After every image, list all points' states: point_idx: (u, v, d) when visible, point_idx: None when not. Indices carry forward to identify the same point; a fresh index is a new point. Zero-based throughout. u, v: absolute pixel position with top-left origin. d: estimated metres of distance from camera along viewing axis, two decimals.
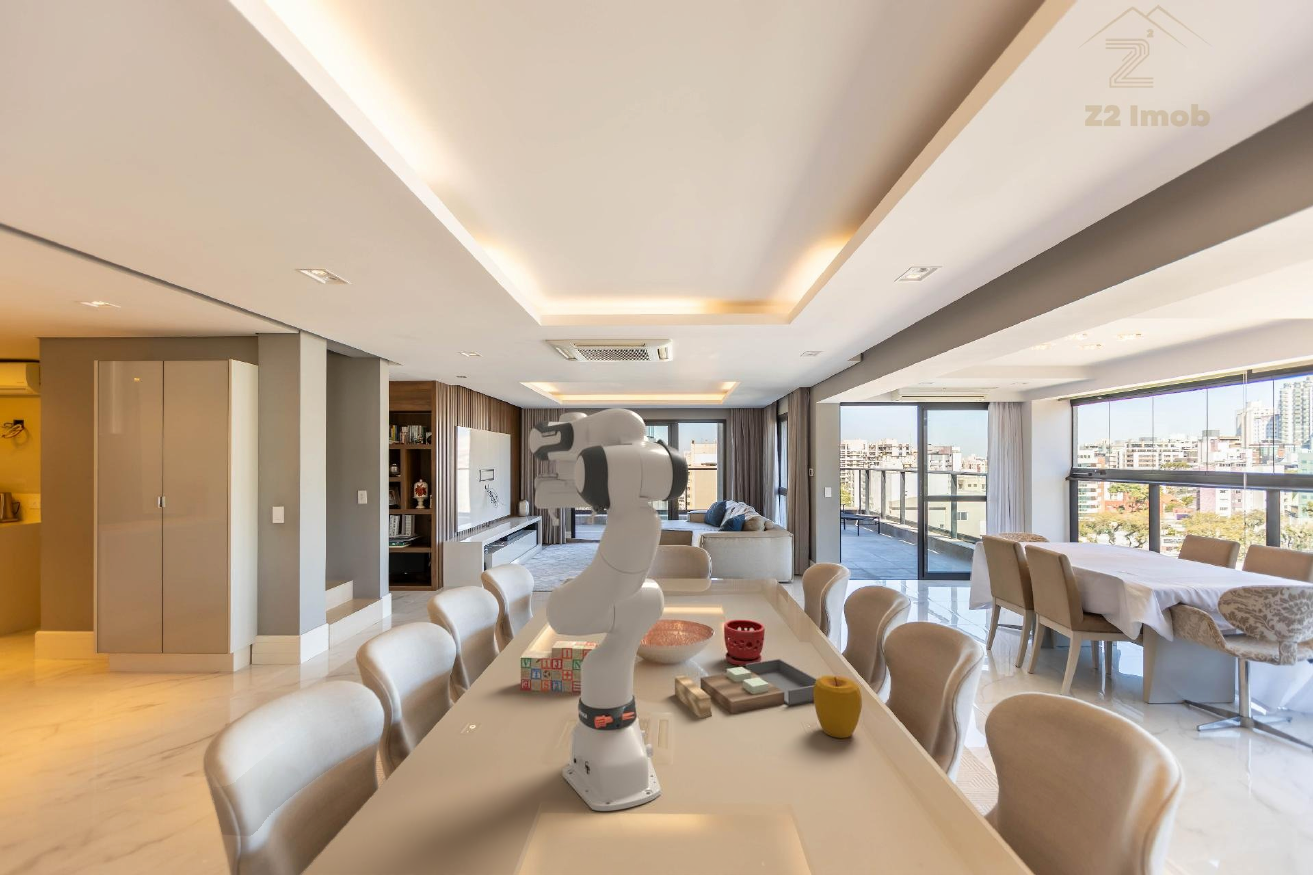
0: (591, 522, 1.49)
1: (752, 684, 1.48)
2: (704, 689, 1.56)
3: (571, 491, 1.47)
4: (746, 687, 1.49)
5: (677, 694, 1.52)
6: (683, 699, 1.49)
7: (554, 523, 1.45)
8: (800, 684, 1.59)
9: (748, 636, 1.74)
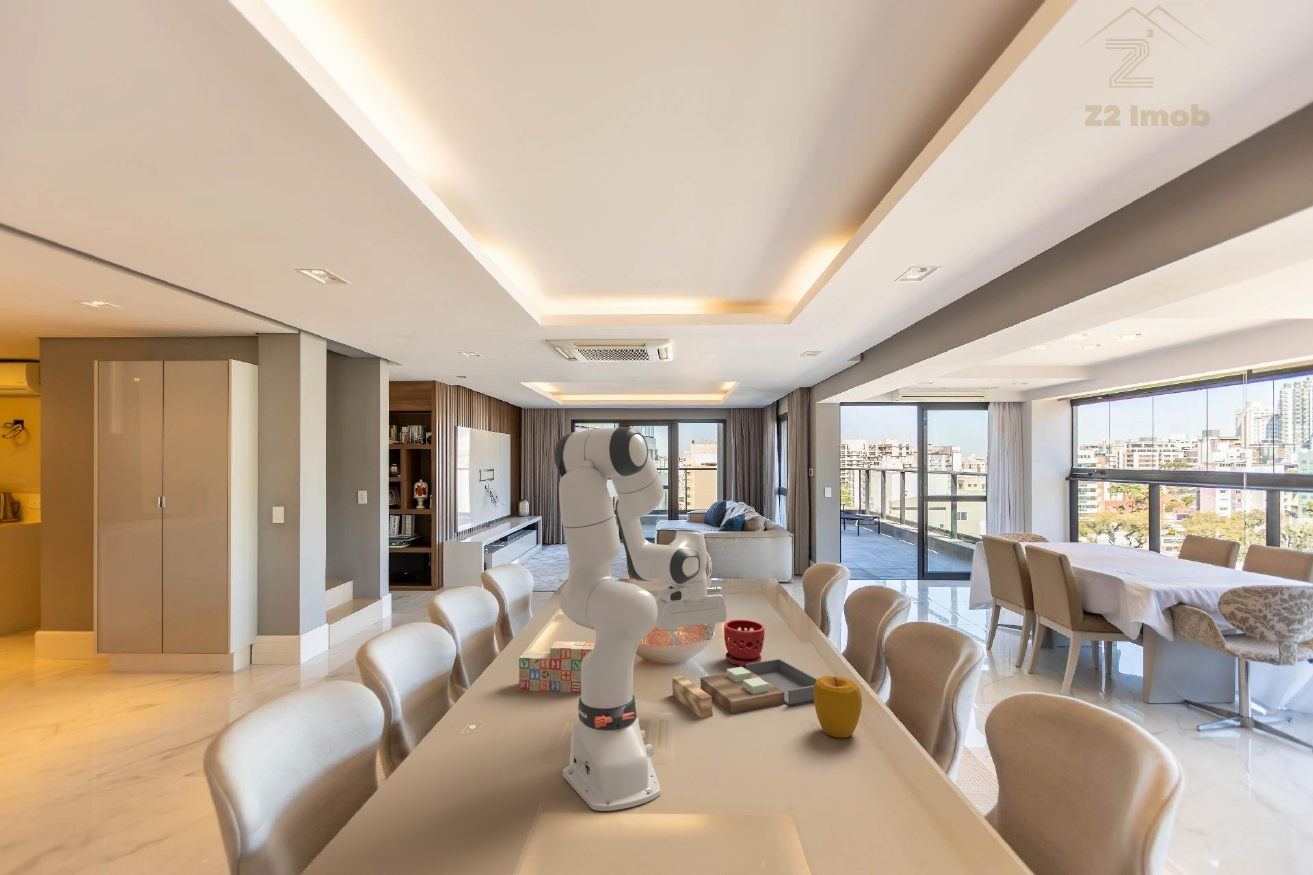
0: None
1: (752, 684, 1.48)
2: (704, 689, 1.56)
3: None
4: (746, 687, 1.49)
5: (675, 695, 1.52)
6: (682, 699, 1.49)
7: None
8: (800, 684, 1.59)
9: (748, 636, 1.74)
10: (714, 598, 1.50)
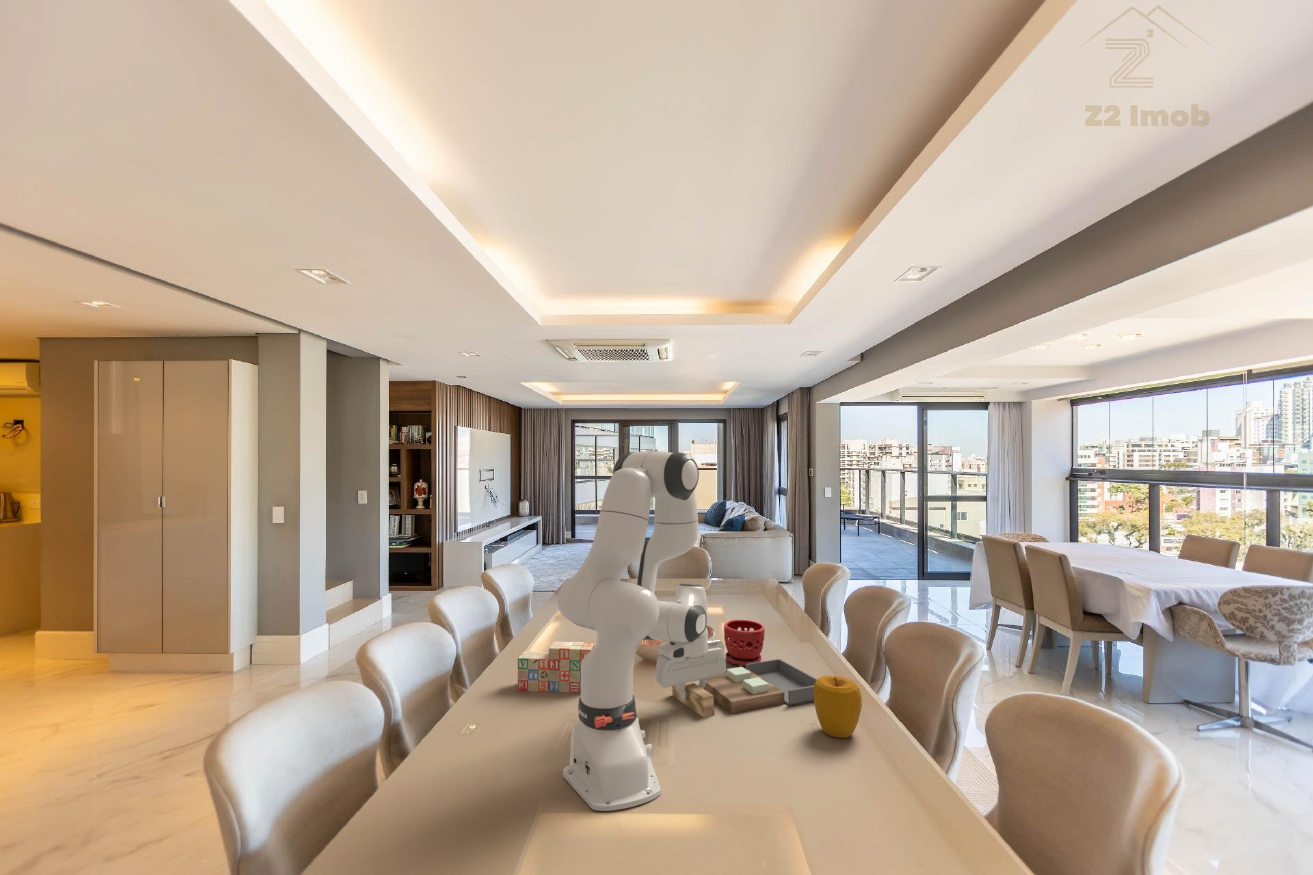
0: None
1: (752, 684, 1.48)
2: (704, 689, 1.56)
3: None
4: (746, 687, 1.49)
5: (675, 694, 1.52)
6: None
7: None
8: (800, 684, 1.59)
9: (748, 636, 1.74)
10: (714, 652, 1.49)
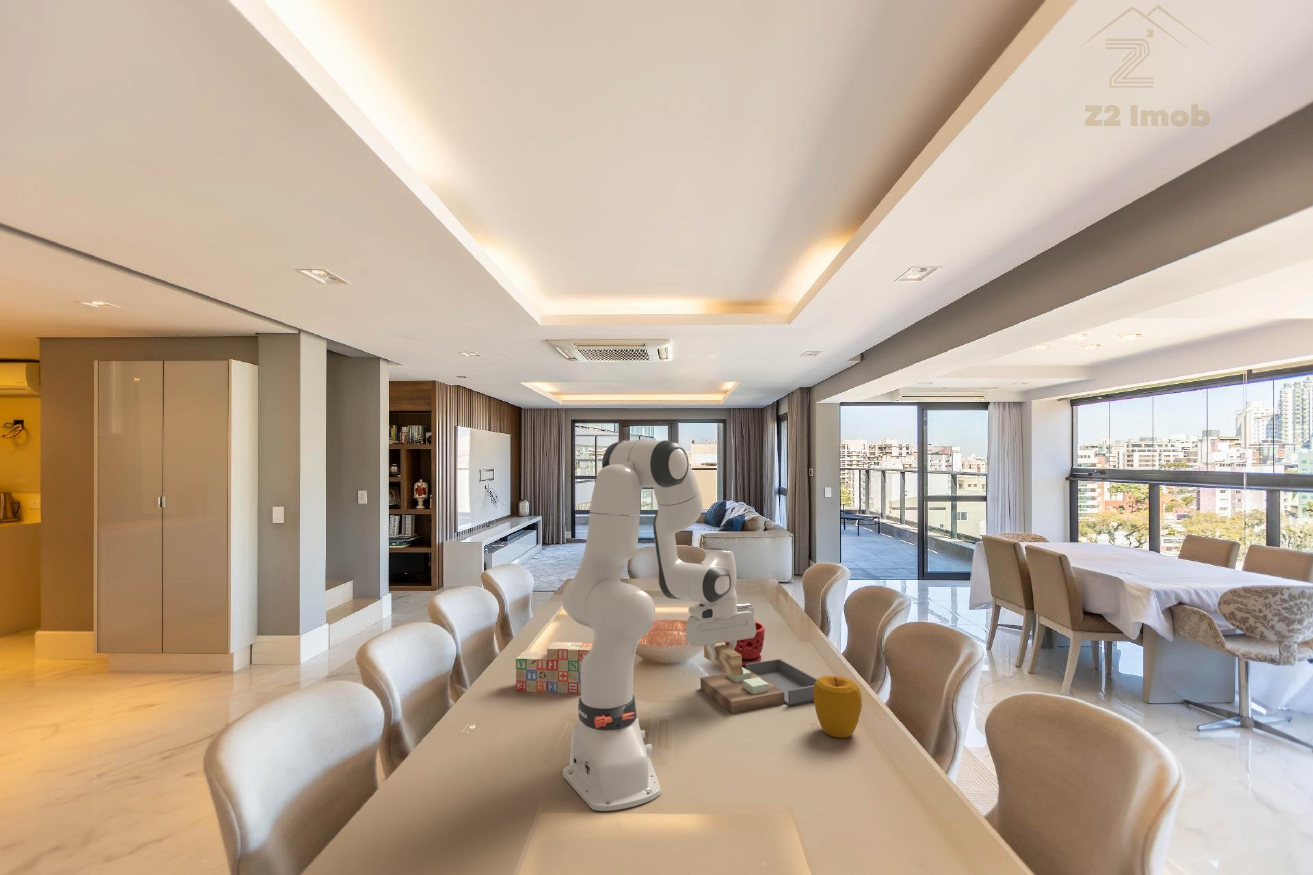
0: None
1: (752, 684, 1.48)
2: (704, 689, 1.56)
3: None
4: (746, 687, 1.49)
5: (707, 655, 1.57)
6: None
7: None
8: (800, 684, 1.59)
9: None
10: (744, 615, 1.53)
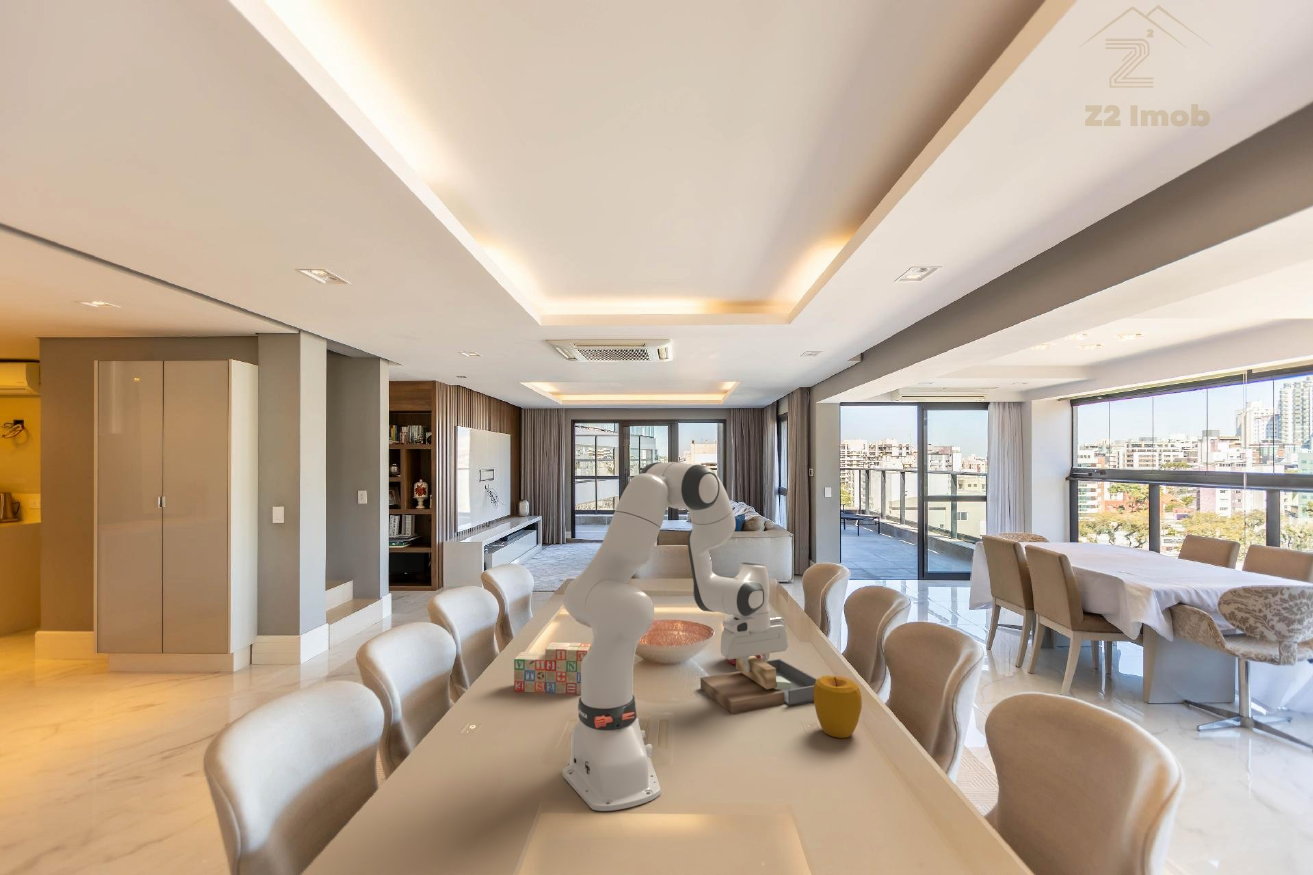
0: None
1: None
2: (704, 689, 1.56)
3: None
4: None
5: (739, 667, 1.60)
6: (746, 672, 1.57)
7: None
8: (800, 684, 1.59)
9: None
10: (776, 628, 1.56)
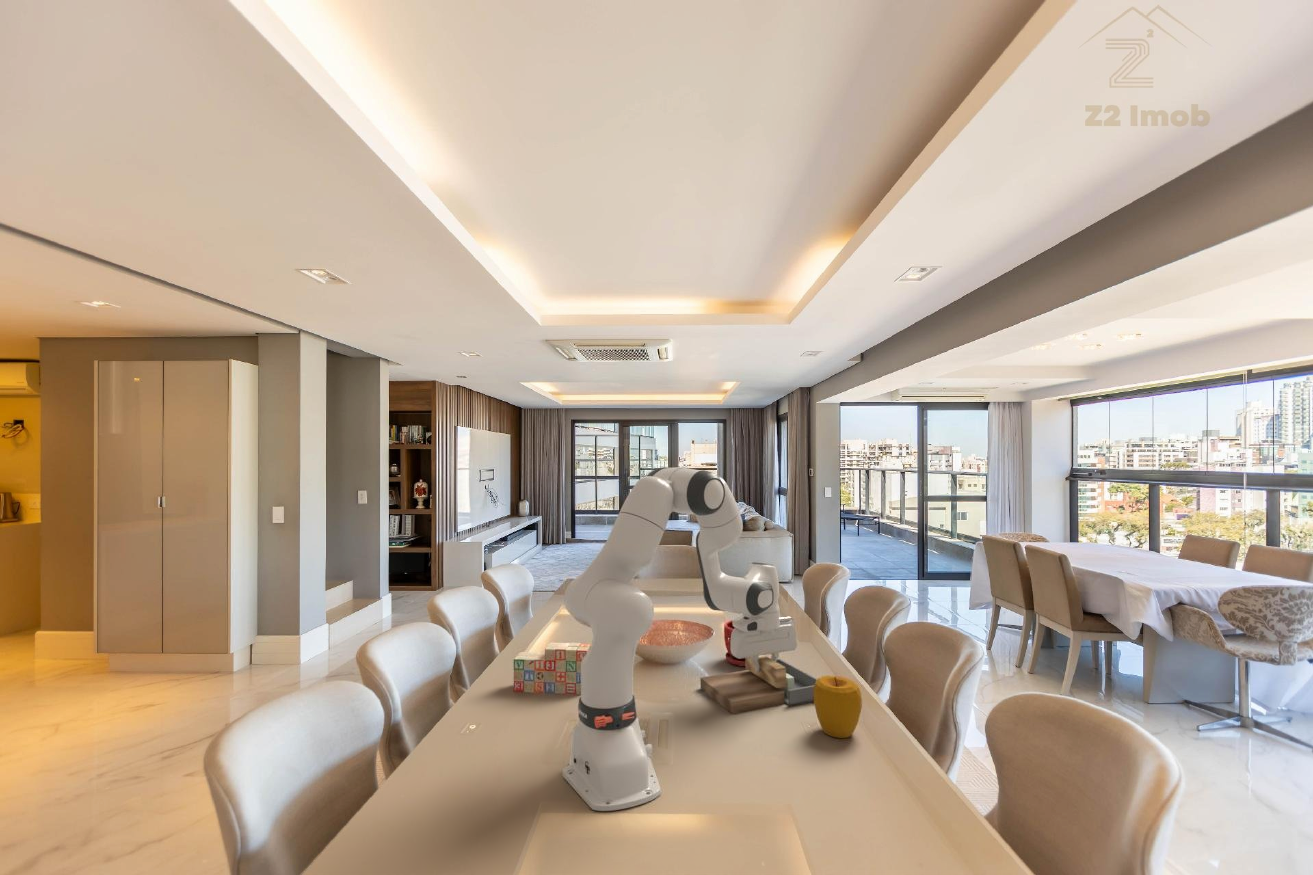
0: None
1: None
2: (704, 689, 1.56)
3: None
4: None
5: (748, 667, 1.61)
6: (756, 671, 1.58)
7: None
8: (800, 684, 1.59)
9: None
10: (786, 628, 1.57)
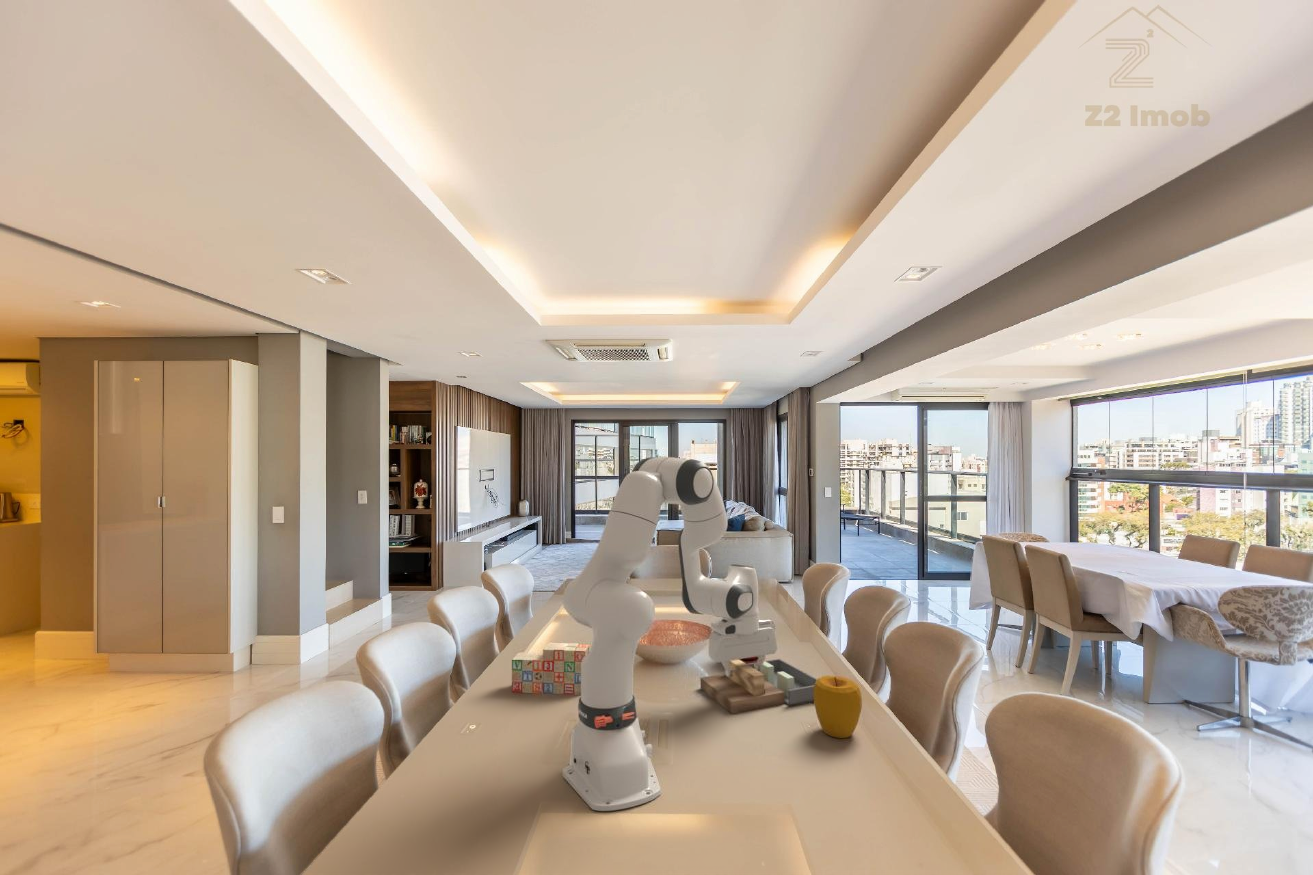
0: None
1: None
2: (704, 689, 1.56)
3: None
4: (782, 674, 1.54)
5: None
6: (734, 678, 1.55)
7: None
8: (800, 684, 1.59)
9: None
10: (765, 631, 1.55)
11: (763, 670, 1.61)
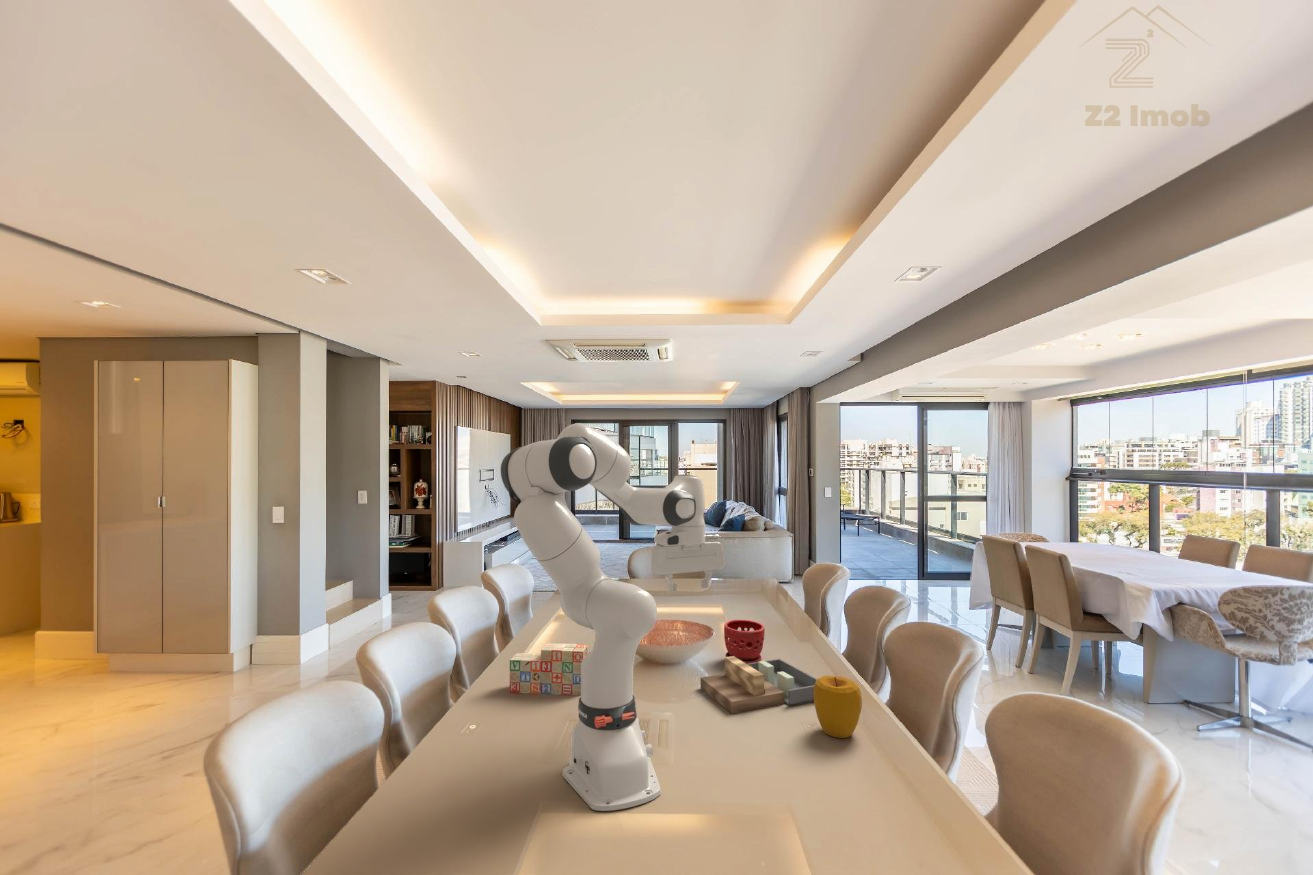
0: None
1: None
2: (704, 689, 1.56)
3: None
4: (782, 674, 1.54)
5: (727, 674, 1.59)
6: (734, 678, 1.55)
7: None
8: (800, 684, 1.59)
9: (748, 636, 1.74)
10: (712, 545, 1.47)
11: (763, 670, 1.61)
